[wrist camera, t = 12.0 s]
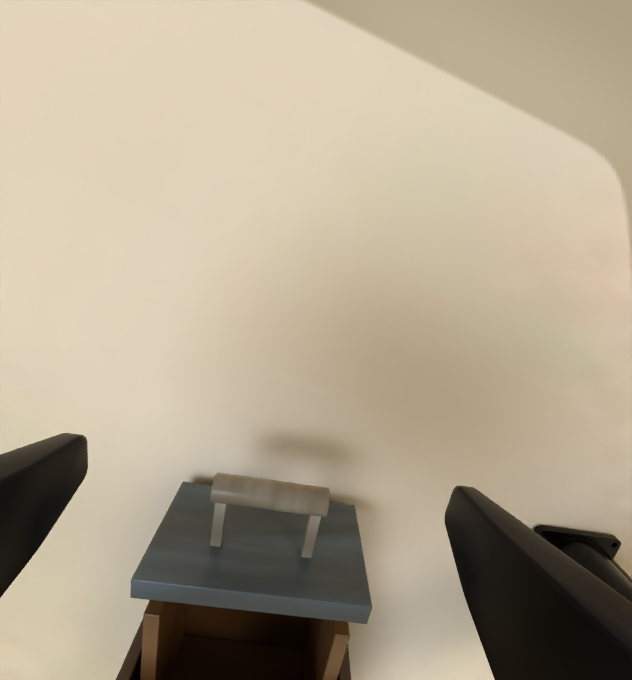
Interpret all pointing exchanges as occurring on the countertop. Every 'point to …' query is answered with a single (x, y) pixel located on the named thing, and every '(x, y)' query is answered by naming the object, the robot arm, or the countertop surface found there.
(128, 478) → the countertop surface
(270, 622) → the drawer
